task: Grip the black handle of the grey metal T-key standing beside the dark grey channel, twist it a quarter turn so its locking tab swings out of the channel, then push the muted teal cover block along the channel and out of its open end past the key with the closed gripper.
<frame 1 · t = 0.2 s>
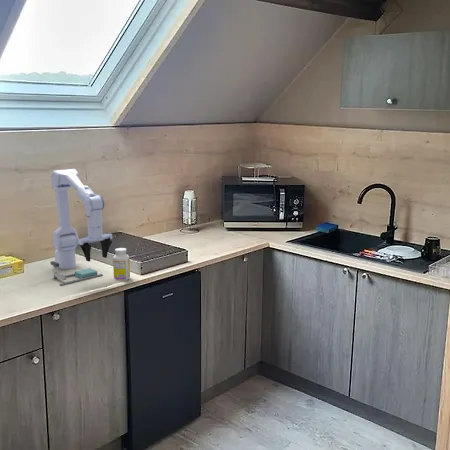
hand: (96, 259, 231), 10 cm above the worktop, tool pointing down, fingers open, 7 cm apart
supplement bottle: (121, 279, 238), on the worktop
cover: (86, 278, 239), on the worktop
channel: (88, 277, 240), on the worktop
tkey: (58, 271, 233), point 4 cm above the worktop, hinge at 0.0°
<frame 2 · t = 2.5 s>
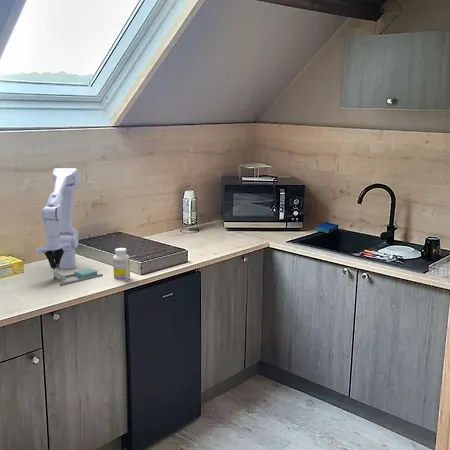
hand: (54, 267, 235), 5 cm above the worktop, tool pointing down, fingers closed on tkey
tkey: (58, 271, 233), point 4 cm above the worktop, hinge at 0.0°, touching gripper
everything else where it was.
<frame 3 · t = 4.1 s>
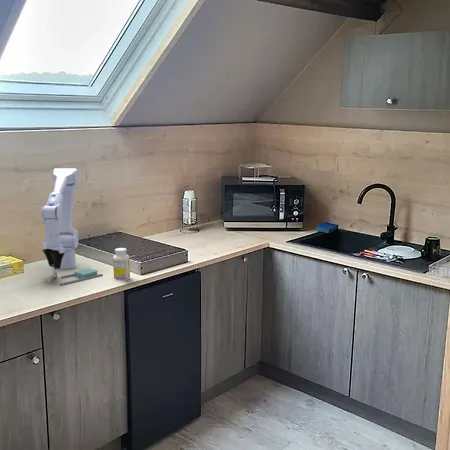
hand: (54, 267, 234), 6 cm above the worktop, tool pointing down, fingers closed on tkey, 4 cm apart
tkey: (52, 272, 232), point 4 cm above the worktop, hinge at -47.8°, touching gripper
everything else where it was.
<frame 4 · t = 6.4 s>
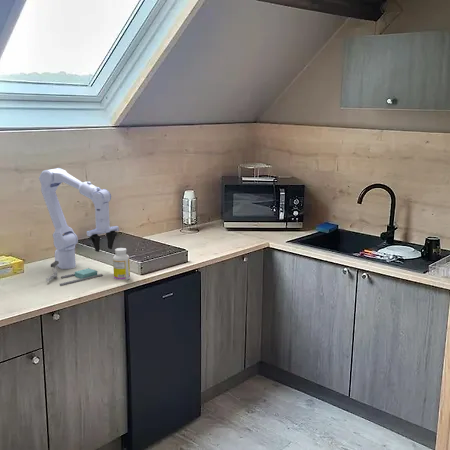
hand: (103, 250, 243), 10 cm above the worktop, tool pointing down, fingers open, 6 cm apart
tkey: (52, 272, 232), point 4 cm above the worktop, hinge at -51.4°
everything else where it was.
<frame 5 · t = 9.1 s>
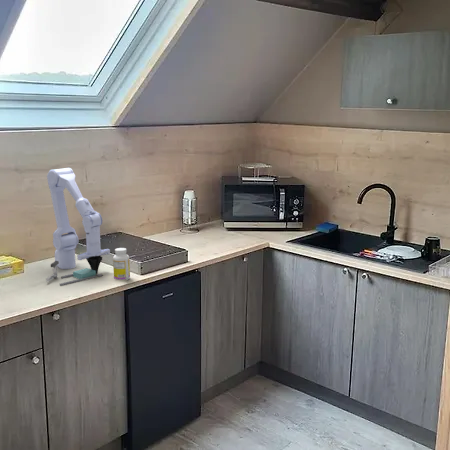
hand: (94, 273, 242), 1 cm above the worktop, tool pointing down, fingers closed
cover: (84, 278, 239), on the worktop, touching gripper
everything else where it was.
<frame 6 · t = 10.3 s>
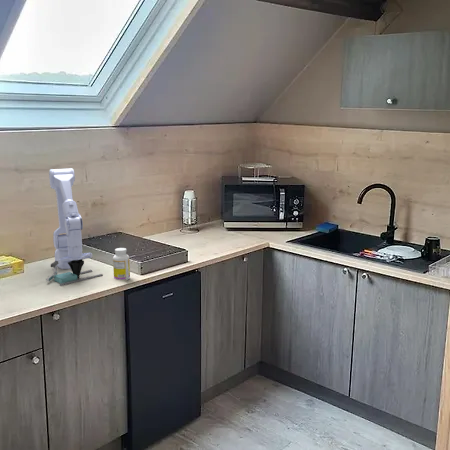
hand: (76, 277, 236), 1 cm above the worktop, tool pointing down, fingers closed
cover: (66, 282, 233), on the worktop, touching gripper
everything else where it was.
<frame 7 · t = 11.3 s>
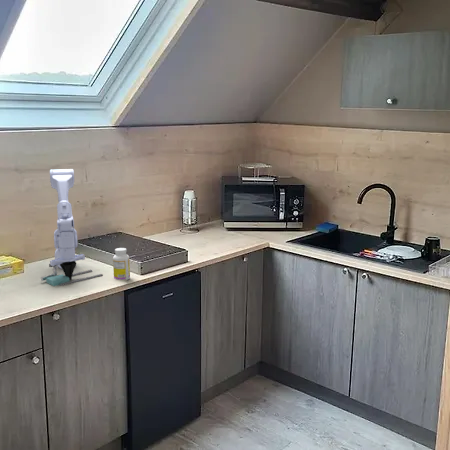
hand: (68, 279, 233), 1 cm above the worktop, tool pointing down, fingers closed
cover: (58, 285, 231), on the worktop
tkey: (50, 272, 233), point 4 cm above the worktop, hinge at -72.0°
everything else where it was.
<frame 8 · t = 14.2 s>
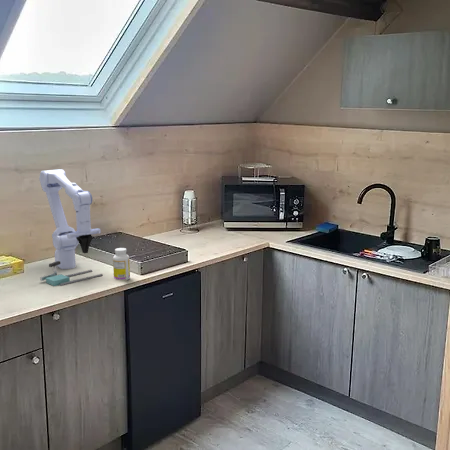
hand: (85, 252, 239), 10 cm above the worktop, tool pointing down, fingers closed
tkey: (50, 271, 233), point 4 cm above the worktop, hinge at -75.3°
everything else where it was.
at the end: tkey at -75° (first picture: +0°); cover inside the target area (2.6 cm from its centre), on the worktop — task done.
